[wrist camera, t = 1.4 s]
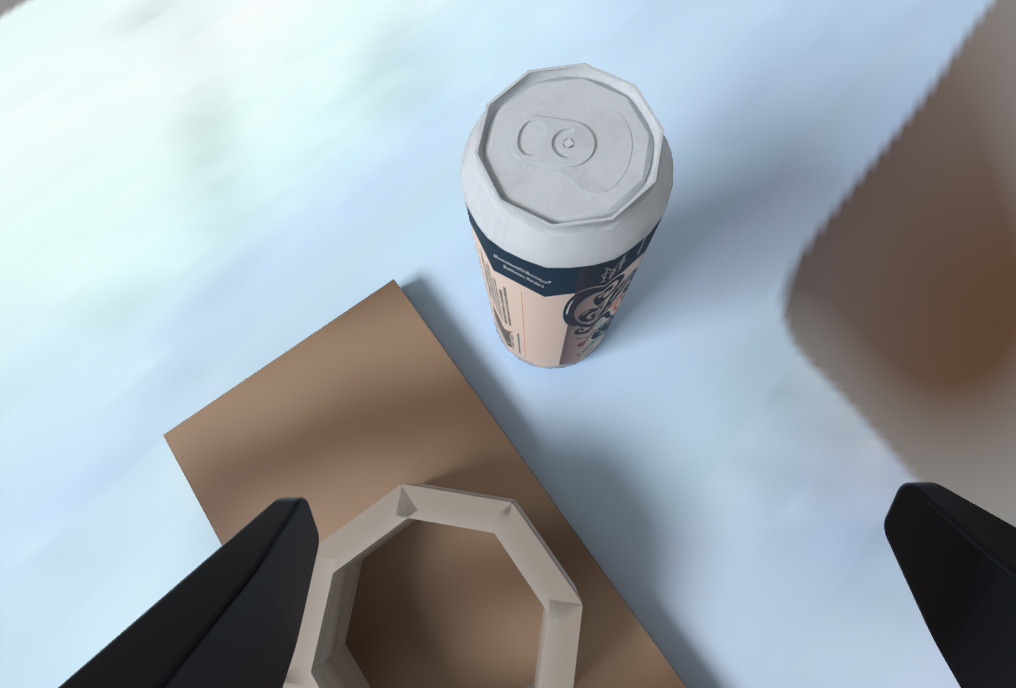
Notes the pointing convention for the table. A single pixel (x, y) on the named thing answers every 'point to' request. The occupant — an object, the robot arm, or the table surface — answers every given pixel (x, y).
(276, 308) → the table surface
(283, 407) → the socket board
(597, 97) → the beer can
